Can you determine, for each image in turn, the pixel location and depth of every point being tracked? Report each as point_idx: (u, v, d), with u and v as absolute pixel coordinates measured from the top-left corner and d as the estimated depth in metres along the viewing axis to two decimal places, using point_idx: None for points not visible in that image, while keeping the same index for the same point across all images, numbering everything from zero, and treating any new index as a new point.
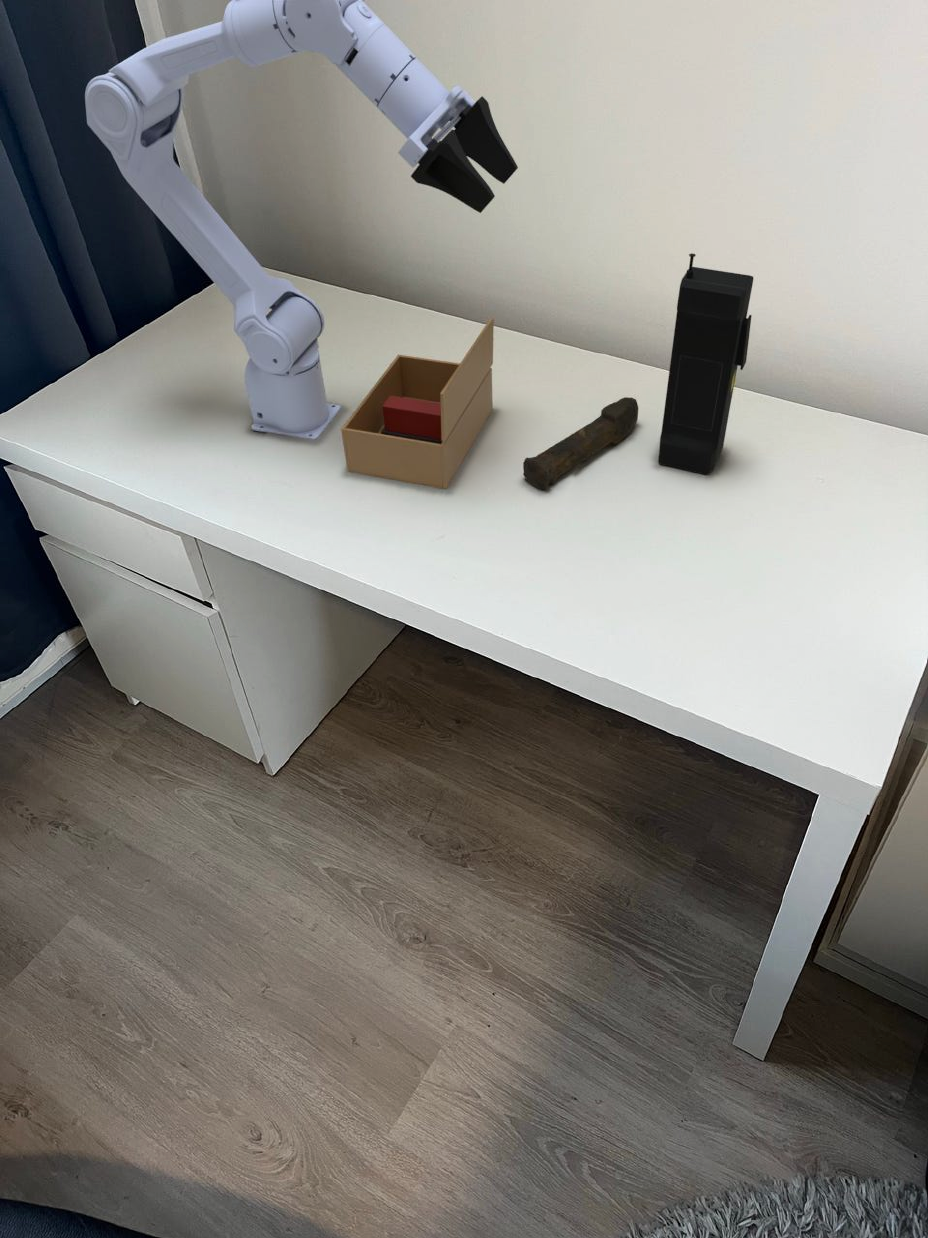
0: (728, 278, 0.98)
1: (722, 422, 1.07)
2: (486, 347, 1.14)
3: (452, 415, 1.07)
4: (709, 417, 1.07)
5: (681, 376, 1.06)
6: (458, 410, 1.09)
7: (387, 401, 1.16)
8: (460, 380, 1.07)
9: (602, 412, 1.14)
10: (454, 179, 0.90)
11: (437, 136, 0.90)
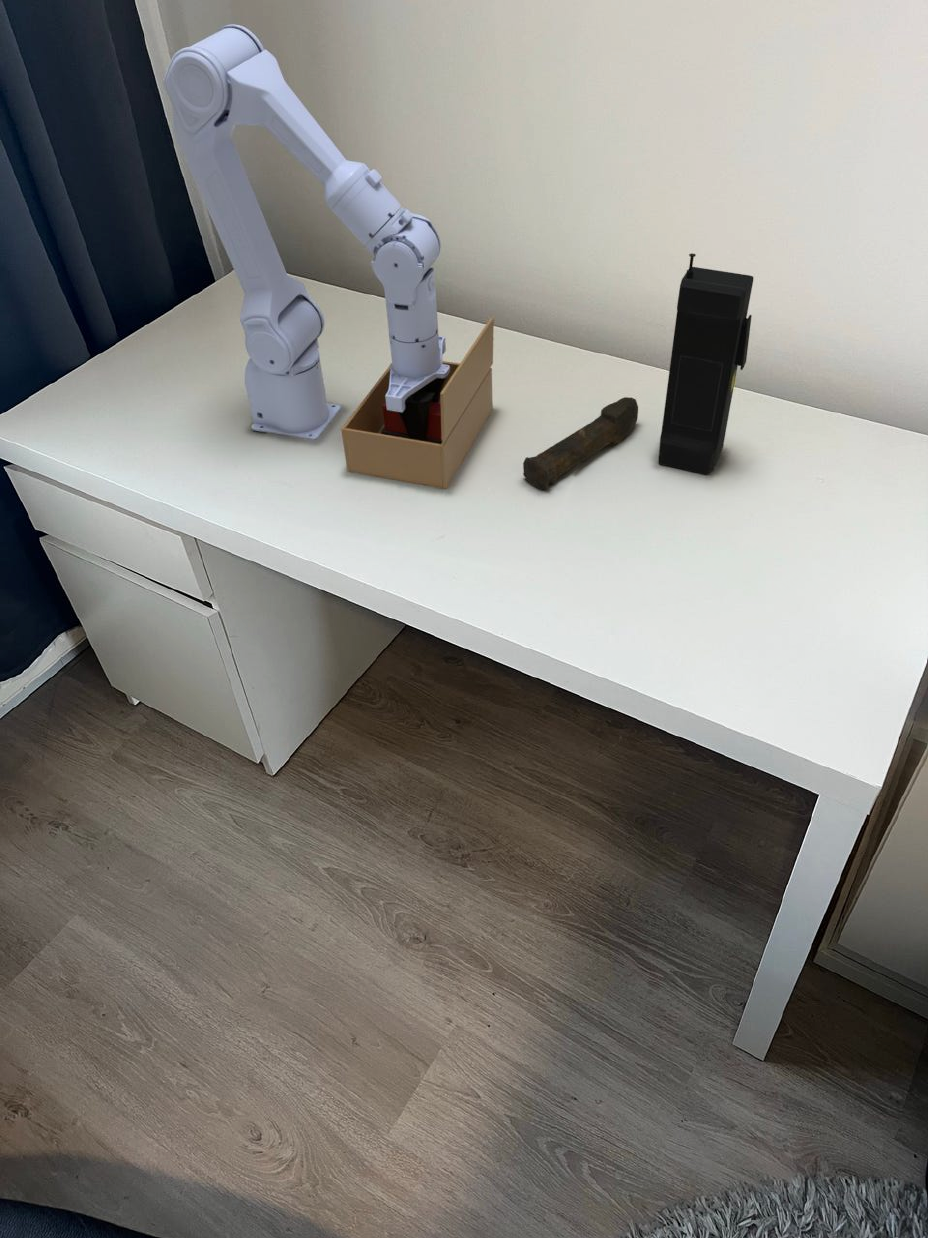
0: (728, 278, 0.98)
1: (722, 422, 1.07)
2: (486, 347, 1.14)
3: (452, 415, 1.07)
4: (709, 417, 1.07)
5: (681, 376, 1.06)
6: (458, 410, 1.09)
7: None
8: (460, 380, 1.07)
9: (602, 412, 1.14)
10: (410, 412, 1.14)
11: None
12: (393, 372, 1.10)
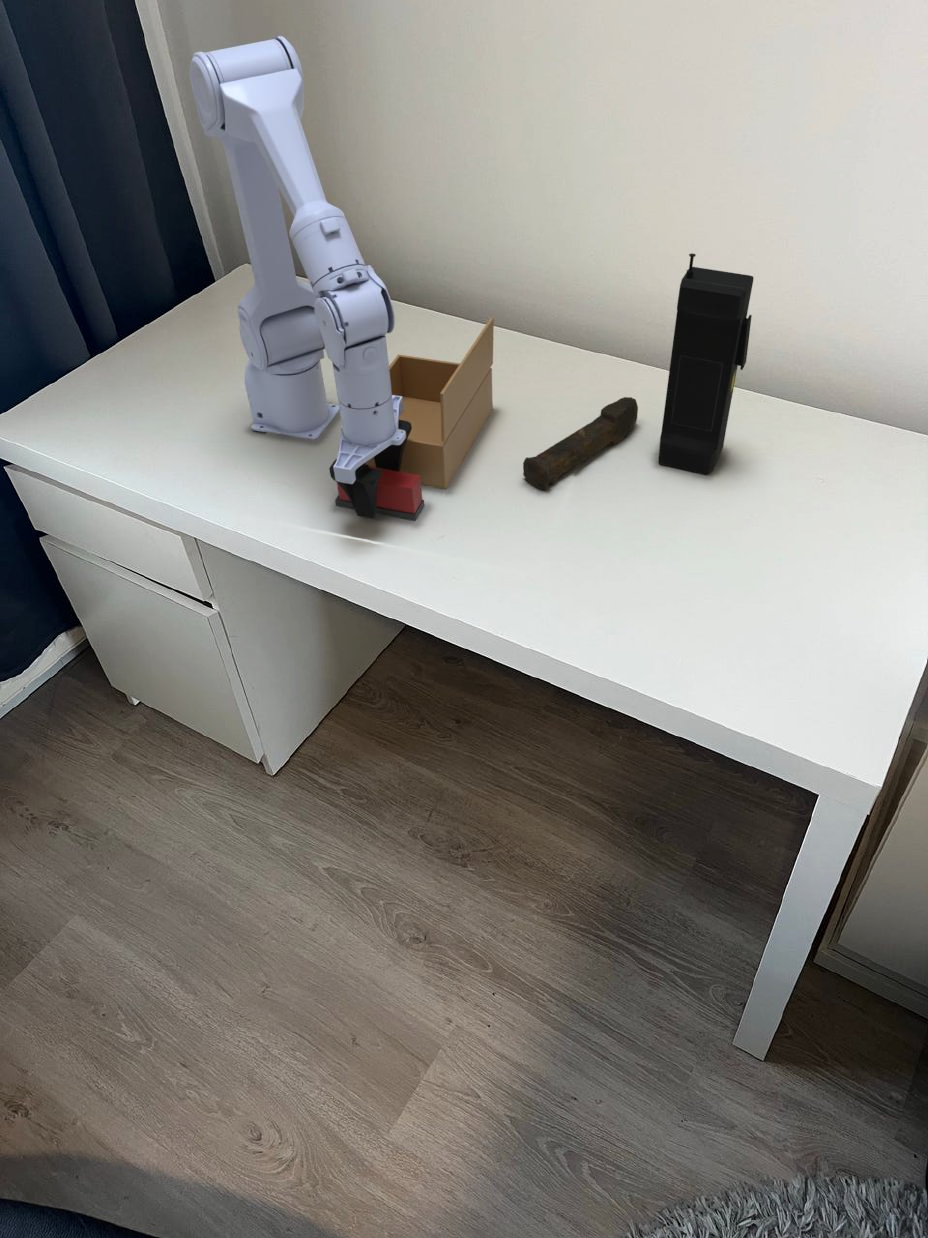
0: (728, 278, 0.98)
1: (722, 422, 1.07)
2: (486, 347, 1.14)
3: (452, 415, 1.07)
4: (709, 416, 1.07)
5: (681, 376, 1.06)
6: (458, 410, 1.09)
7: None
8: (460, 380, 1.07)
9: (602, 412, 1.15)
10: (357, 490, 1.03)
11: None
12: (343, 438, 1.01)
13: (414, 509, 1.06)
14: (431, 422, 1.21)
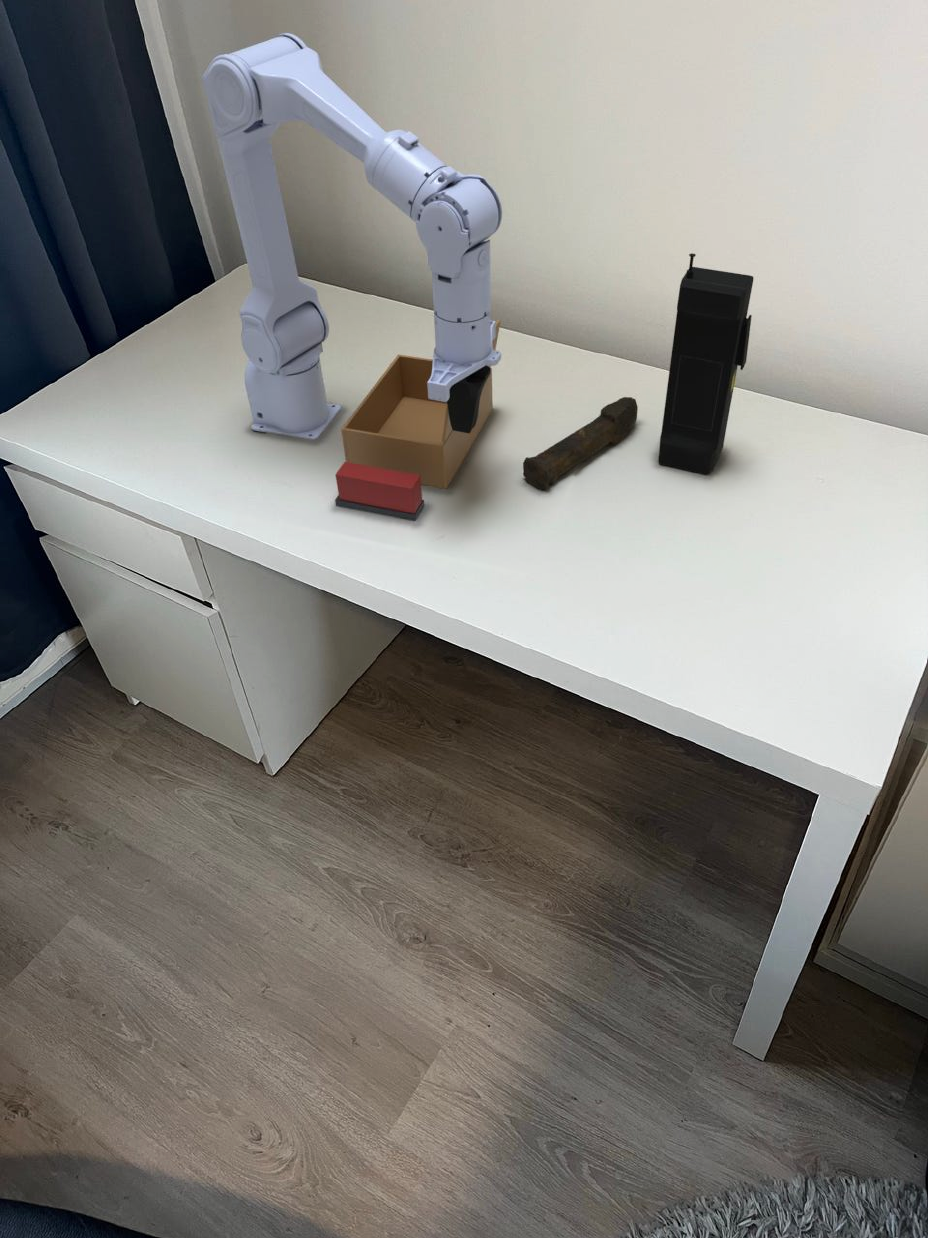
0: (728, 278, 0.98)
1: (722, 422, 1.07)
2: None
3: None
4: (709, 417, 1.07)
5: (681, 376, 1.06)
6: None
7: (341, 469, 1.07)
8: None
9: (601, 412, 1.15)
10: None
11: None
12: (436, 357, 0.97)
13: (414, 509, 1.06)
14: (431, 422, 1.21)
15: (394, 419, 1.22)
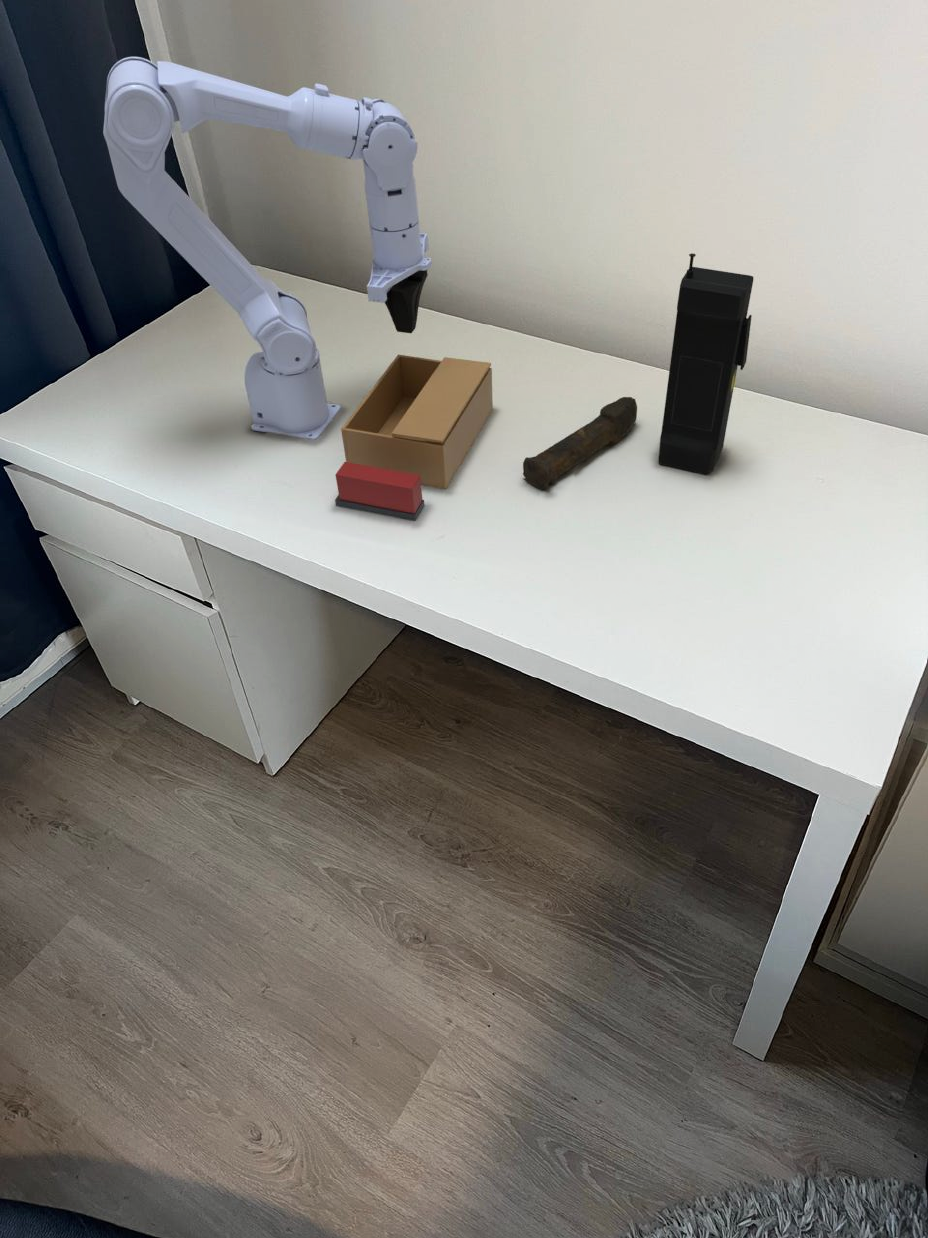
0: (728, 278, 0.98)
1: (722, 422, 1.07)
2: (456, 369, 1.17)
3: (437, 424, 1.09)
4: (709, 417, 1.07)
5: (681, 376, 1.06)
6: (447, 416, 1.10)
7: (341, 468, 1.07)
8: (421, 409, 1.11)
9: (601, 412, 1.15)
10: (397, 303, 1.15)
11: None
12: (375, 265, 1.11)
13: (414, 509, 1.06)
14: None
15: (394, 419, 1.22)
